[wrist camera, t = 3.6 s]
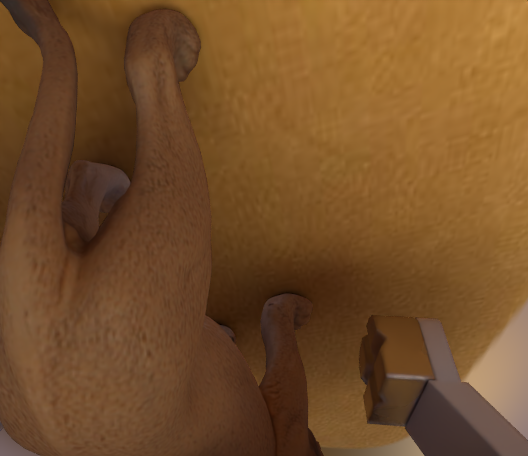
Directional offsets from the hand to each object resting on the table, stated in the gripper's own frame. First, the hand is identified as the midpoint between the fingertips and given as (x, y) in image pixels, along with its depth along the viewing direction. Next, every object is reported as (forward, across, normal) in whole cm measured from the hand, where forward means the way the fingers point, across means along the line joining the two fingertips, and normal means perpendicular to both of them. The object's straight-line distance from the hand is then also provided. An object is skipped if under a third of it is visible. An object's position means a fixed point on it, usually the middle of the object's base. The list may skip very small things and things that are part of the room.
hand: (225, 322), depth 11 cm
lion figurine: (+3, 0, 0) cm, 3 cm away
